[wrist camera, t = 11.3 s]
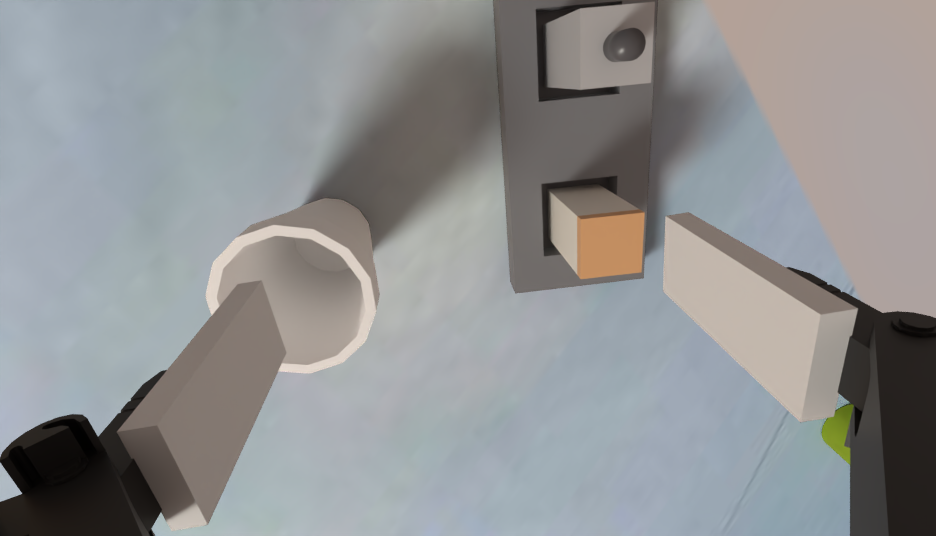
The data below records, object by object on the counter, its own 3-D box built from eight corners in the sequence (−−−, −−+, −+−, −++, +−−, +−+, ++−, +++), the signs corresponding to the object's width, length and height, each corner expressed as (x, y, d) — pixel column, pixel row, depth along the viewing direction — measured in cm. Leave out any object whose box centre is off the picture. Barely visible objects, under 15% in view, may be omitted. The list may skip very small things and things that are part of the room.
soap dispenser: (803, 432, 52) (1013, 627, 34) (860, 393, 51) (1110, 574, 32) (827, 461, 54) (1037, 660, 36) (882, 424, 53) (1130, 611, 34)
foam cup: (411, 219, 40) (405, 280, 28) (356, 305, 42) (329, 396, 30) (305, 155, 37) (249, 192, 25) (253, 251, 40) (179, 327, 28)
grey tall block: (542, 24, 35) (592, 3, 25) (599, 19, 35) (672, -5, 25) (544, 87, 36) (591, 90, 26) (599, 81, 37) (666, 83, 26)
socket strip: (491, -32, 34) (496, -40, 31) (644, -45, 34) (660, -54, 32) (510, 281, 43) (515, 293, 40) (631, 267, 43) (643, 278, 41)
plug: (548, 238, 41) (580, 279, 32) (547, 189, 39) (580, 219, 31) (597, 232, 41) (641, 272, 33) (597, 184, 39) (644, 212, 31)
